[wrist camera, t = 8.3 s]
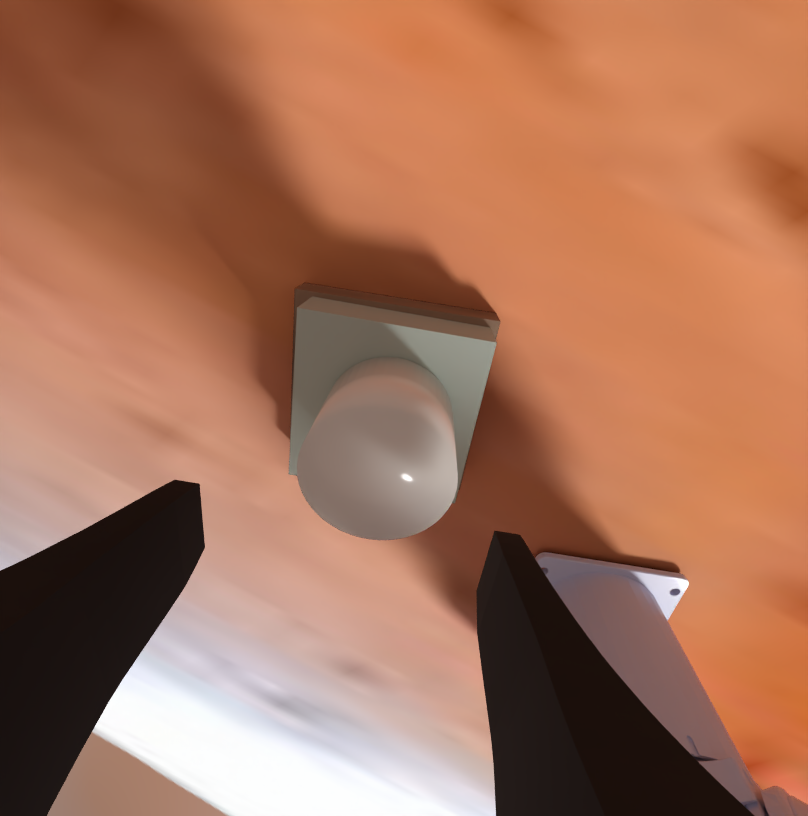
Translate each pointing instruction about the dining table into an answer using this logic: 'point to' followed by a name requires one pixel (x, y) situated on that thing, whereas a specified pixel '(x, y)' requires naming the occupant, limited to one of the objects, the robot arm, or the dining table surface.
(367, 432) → the white rounded dome
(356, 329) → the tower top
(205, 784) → the dining table surface
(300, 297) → the tower base
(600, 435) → the dining table surface
